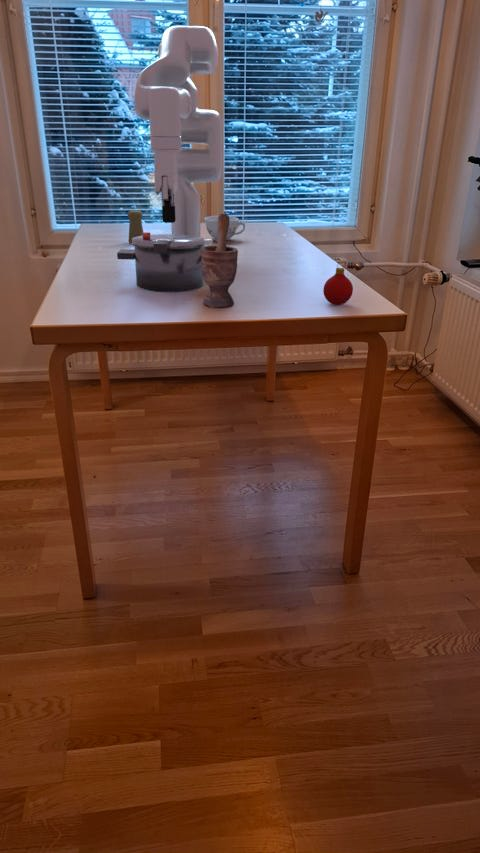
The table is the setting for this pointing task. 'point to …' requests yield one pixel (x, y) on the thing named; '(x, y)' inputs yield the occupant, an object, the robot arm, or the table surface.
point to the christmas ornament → (338, 288)
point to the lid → (167, 241)
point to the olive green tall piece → (135, 224)
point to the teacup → (233, 225)
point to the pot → (166, 268)
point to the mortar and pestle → (219, 267)
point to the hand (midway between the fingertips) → (169, 221)
